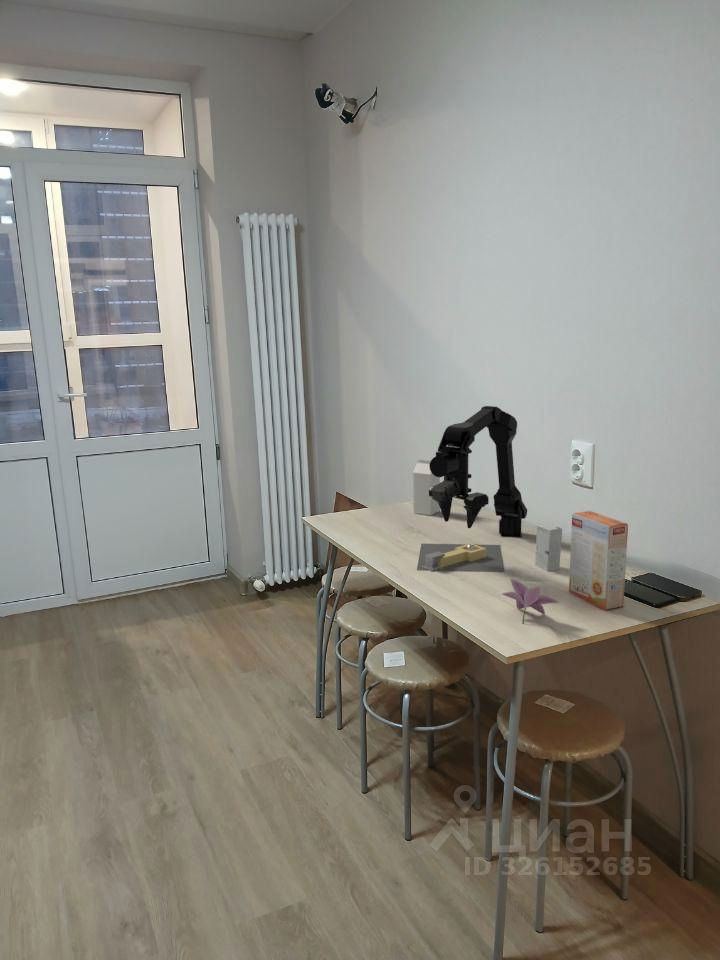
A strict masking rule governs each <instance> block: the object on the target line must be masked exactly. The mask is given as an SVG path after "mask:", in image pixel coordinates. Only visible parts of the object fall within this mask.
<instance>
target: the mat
mask: <svg viewBox="0 0 720 960" xmlns="http://www.w3.org/2000/svg"><path fill="white" fill-rule="evenodd" d="M467 544H468V543H467ZM467 544H465V543H463V544H462V543H420V550H419V554H418V555H419V556H418V561H417V568H416V571H422V572H423V571H427V572H428V571H429V570H426V569H423V568H421V567H422V566H425V555H427V554H430V553H434V552H440V553H447V552H451V551H454V550H455V548H456V547H460V546H463V545H467ZM474 545H477V546H480V547H483V548H486V557H484V558H481V559H478V560H474V561H471V562H470V561H467V560H465V561H462V562H458V563H455V564H452V565H448V566H445V567H441V568H440V567H439V568H440V569H439V570H436V571H435V572H474V573H475V572H476V573H477V572H478V573H479V572H480V573H481V572H482V573H483V572H485V573H505V565H504V560H503V554H502V548H501V545H500V544H480V543H479V544H474ZM429 572H430V571H429Z"/></svg>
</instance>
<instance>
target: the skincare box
mask: <svg viewBox="0 0 720 960" xmlns="http://www.w3.org/2000/svg"><path fill="white" fill-rule="evenodd" d="M562 535H563V528H562V527H560V526H557V525H555V524H553V523H550V522H547V523H541V524H537V525H536V539H535V541H536V542H535V554H534V555H535V556H534V557H535V558H534V566H536V567H537V568H539V569H541V570H543V571H546V572H551V571H553V572H556V571H559V570H560V566H561V565H560V563H561V548H562V537H563V536H562Z"/></svg>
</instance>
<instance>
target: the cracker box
mask: <svg viewBox="0 0 720 960" xmlns="http://www.w3.org/2000/svg"><path fill="white" fill-rule="evenodd" d="M628 531H629V524H628V523H626V522H623V521H621V520H617V519H616V518H611V517H609V516H606V515H603V514H600V513H596V512H594V511H590V510H587V511H578V512H573V513H572V514H571V533H570V535H571V536H570V537H571V539H570V558H569V559H570V561H569V579H568V580H569V582H568V592H569V593H571V594H573V595H575V596H577V597H579V598H580V599H582V600H584V601H586V602H588V603H590V604H592V605H594V606H596V607H598V608H599V609H601V610H604V611H607V610H612V608H613V609H618V608H617V607H619V608H622V607H621V606H623V607H624V599H625V586H626V585H625V583H626V582H625V581H626V568H627V566H626V565H627V551H628V550H627V548H628V534H629V532H628Z"/></svg>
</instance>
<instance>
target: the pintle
mask: <svg viewBox="0 0 720 960" xmlns="http://www.w3.org/2000/svg"><path fill="white" fill-rule="evenodd" d="M468 544H469V545H467V550H469V551H473V550H474V545H472V544H473V543H468Z"/></svg>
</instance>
